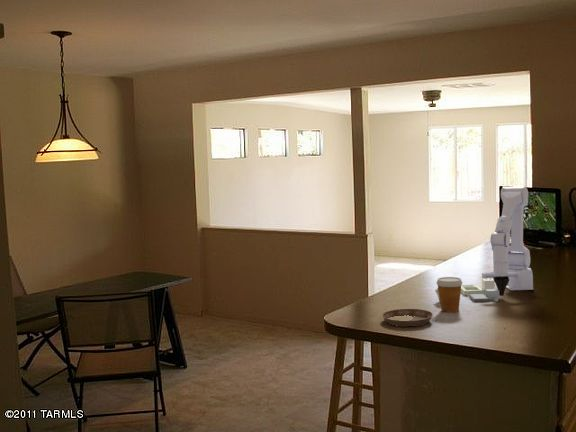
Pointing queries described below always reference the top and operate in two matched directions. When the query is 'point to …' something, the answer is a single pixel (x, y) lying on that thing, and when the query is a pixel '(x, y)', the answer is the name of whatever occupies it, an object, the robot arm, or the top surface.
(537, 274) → the top surface
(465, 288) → the outlet plate
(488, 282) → the charger
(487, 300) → the phone
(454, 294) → the disposable coffee cup
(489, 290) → the cable plug
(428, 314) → the plant saucer
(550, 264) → the top surface
